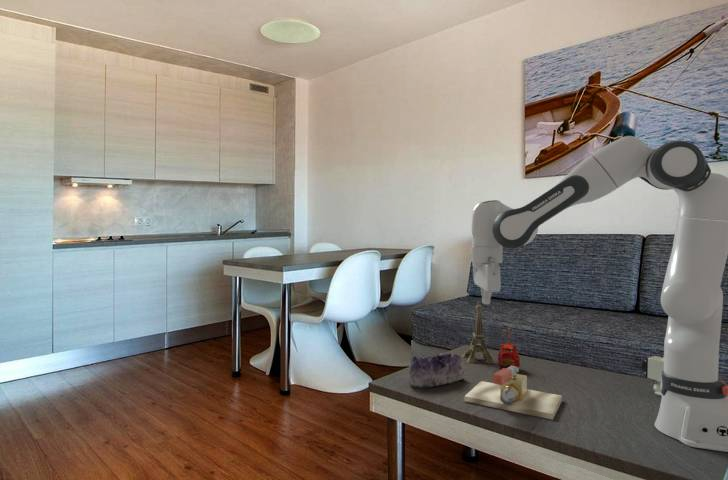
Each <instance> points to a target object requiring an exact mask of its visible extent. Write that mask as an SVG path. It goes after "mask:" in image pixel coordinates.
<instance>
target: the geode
mask: <svg viewBox="0 0 728 480" xmlns="http://www.w3.org/2000/svg"><path fill="white" fill-rule="evenodd" d="M461 357H462V356H461V355H458V354H456V353H455V354H453V356H452V354H451V353H440V354H436V355H435V356H428V357H424V359H423V358H418V357H417V356H413V358H412V363H411V367H410V368H409V377H408V378H409V379H408V381H409V382H408V383H409V385H410V387H411V388H413V387H414V388H413V389H430V388H433V387H437V386H443V385H447V384H453V383H455V382H459V381H461V380H463V379H464V375H465V373H464V372H465V371H464V368H463V366H462V364H461V363H462V358H461Z"/></svg>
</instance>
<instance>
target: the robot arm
mask: <svg viewBox="0 0 728 480" xmlns="http://www.w3.org/2000/svg"><path fill="white" fill-rule="evenodd" d="M636 178H639V179H641V180H643V181H644V182H645V183H647V184H648V185H650V186H652V187H654V188H656V189H659V190H662V191H663V190H666V191H667V190H670V191H671V190H673V191H674V192H676V194H677V196H678V205H679V206H678V210H677V218H676V222H675V230H674V234H673V235H674V237H673V243H672V249H671V252H670V256H669V260H668V263H667V266H666V267H667V268H666V271H665V275H664V280H663V285H662V289H661V294H660V305H661V307H662V308H661V309H662V310H663V311H664V313H665V314H666V315H668V318H667V325H666V331H665V337H664V339H663V340H664V341H663V342H664V344H663V345H664V346H663V356H664V370H663V371H662V374H661V382H660V383H661V393H662V396H661V400H660V405H659V409H658V414H657V417H656V419H655V422H654V427H655V428H656V430H658V431H659V432H661V433H662V434H664V435H666V436H668V437H670V438H673V439H675V440H678V441H679V442H681V443H682V444H684V445H686V446H687V447H692V448H697V449H703V450H704V449H705V450H710V451H711V450H712V451H717V452H718V451H719V452H725V453H728V383H726V382H725V380H723V379H720V378H719V360H720V359H719V358H720V354H719V353H720V342H721V341H720V340H721V331H722V330H721V329H722V321H723V320H722V319H723V306H724V293H723V290H722V286H721V285H722V281H723V276H724V272H725V266H726V264H727V263H726V262H727V259H728V177H727V176H726V175H723V174H721V173H715V172H712V170H711V167H710V166H709V163H708V162H707V160H706V158H705V155H704V153H703V152H702V150H701V149H700V148H699V147H698V146H697V145H696V144H693V143H692V142H689V141H686V140H673V141H669V142H666V143H663V144H662V145H661V146H659V147H656V148H653V147H652V148H651V147H649V146H647V145H646V143H645V142H644V141H643V140H642V139H640V138H638V137H636V136H632V135H625V136H622V137H620V138H618V139H616V140H613V141H612V142H609V143H608V144H606V145H605V146H603V147H601V148H600V149H598V150H596V151H595V152H593V153H592V154H591V155H589V156H587V157H586V158H584V159H583V160H581V161H580V162H579V163H578V164H577V165H576V166H575V167H574V168H573V169H571V170H570V171H569V173H567V174H566V176H564V177H563V178H562V179H561V180H560V181H559V182H558V183H557V184H556V185H554V186H553V187H551V189H549V190H547V191H546V192H544V193H542V194H541V195H539V196H538V197H537V198H534V199H533V200H532V201H530V202H529V203H527V204H525V205H524V206H522V207H518V208H512V207H510V206H508V205H506V204H504V203H502V202H501V201H500V200H497V199H496V200H495V199H493V200H485V201H482V202H479V203H477V204H476V205H475V206H474V208H473V210H472V215H471V217H472V218H471V234H472V240H471V241H472V242H471V252H470V262H471V263H472V277H473V283H474V285H476V286H477V287H479V288H480V293H481V303H482V304H484V305H487V306H488V305H491V299H492V298H491V297H492V295H493V294H492V293H500V292H501V287H502V286H501V285H502V284H501V283H502V282H501V267H500V265H499V264H503V247H504V248H507V249H518V248H521V247H523V246H526V245H527V244H529V243H531V242H532V241H533V240H534V239H535V238H536V237H537V235H538V230H539V227H540V226H542V225H543V224H544V223H545V222H548V221H549V220H550V219H552V218H554V217H555V216H557V215H558V214H560V213H561V212H563V211H565V210H567V209H569V208H570V207H574V206H576V205H580V204H586V203H591V202H594V201H597V200H599V199H601V198H603V197H605V196H607V195H609V194H611V193H612V192H614V191H616V190H617V189H619V188H621V187H622V186H624V185H625V184H627V183H628V182H630V181H632V180H634V179H636Z"/></svg>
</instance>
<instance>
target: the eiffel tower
mask: <svg viewBox="0 0 728 480" xmlns="http://www.w3.org/2000/svg"><path fill="white" fill-rule="evenodd" d="M475 309H476V316H475V324H474V331H473V332H472V336H473V338H472V340H471V342H470V343H469V346H468V347H467V349H466V350H465V351H464V353H463V354H461V355H460V357H462V358H466V359H467V360H465V362H466V363H467V364H475V365H476V362H475V356H476V353H479V352H481V355H480V356H481V358H483V359H486V363H487V364H493V365H494V364H496V361H495V360H494V358H493V357H492V355H491V353H490V351H489V350H488V349H487V348H488V347H487V345H486V342H485V339H484V338H485V334H484V332H483V321H482V309H483V306H482V305H480V302H478V304H476V306H475ZM478 340H479V343H478Z"/></svg>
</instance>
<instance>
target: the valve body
mask: <svg viewBox="0 0 728 480" xmlns="http://www.w3.org/2000/svg"><path fill="white" fill-rule="evenodd" d="M527 385H528V375H524V374H519V373H517V376H516V377H513V376H512V379H511V380H509V381H508V382H506V383H505V384H504V385H500V399H501V401H502V402H503V403H504V404H506V405H510V404H511V403H512V402H516V400H517V401H522V400H523V399H524V397H525V396H526V395H527V387H528V386H527Z"/></svg>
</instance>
